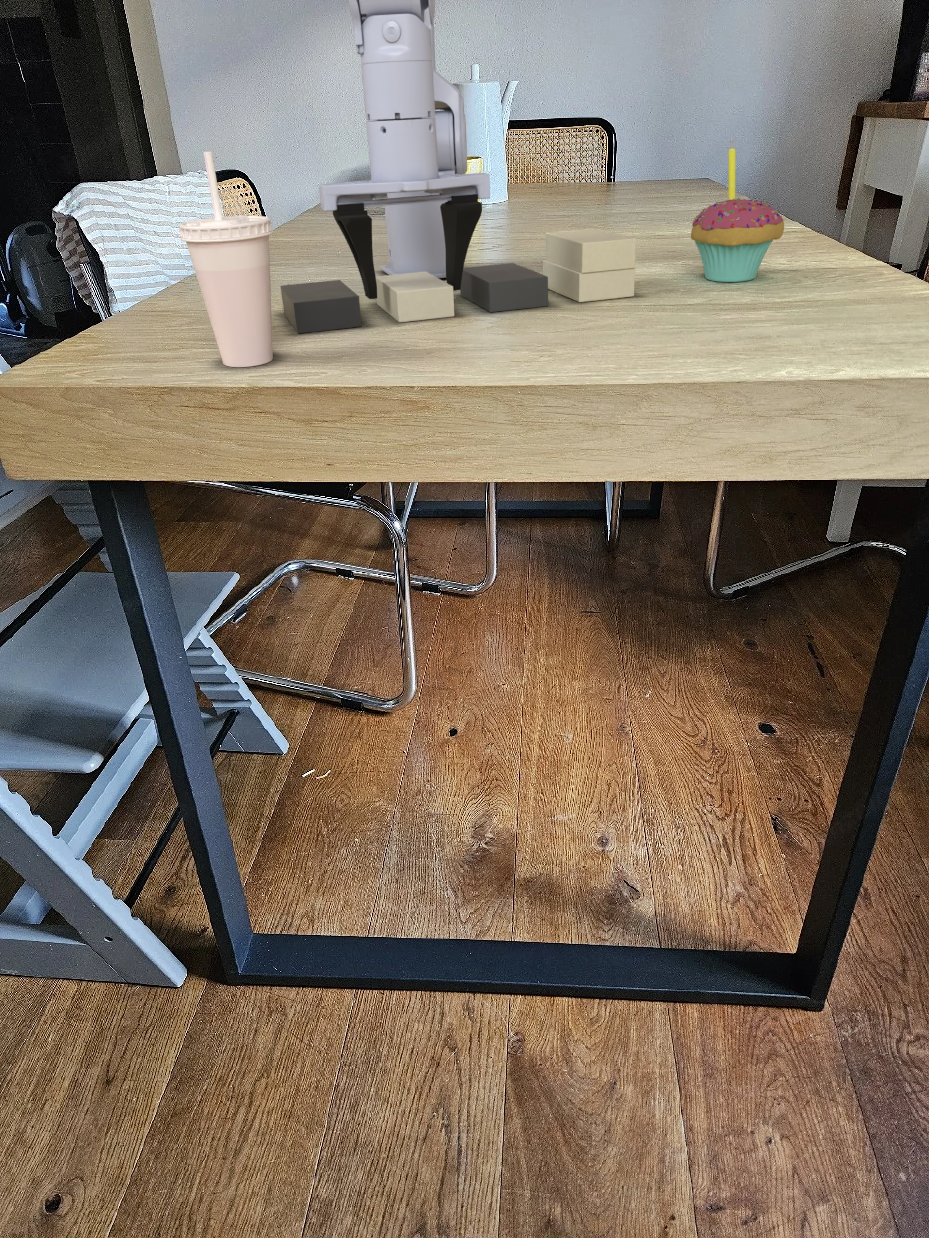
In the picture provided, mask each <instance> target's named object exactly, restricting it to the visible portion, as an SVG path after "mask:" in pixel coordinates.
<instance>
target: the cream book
mask: <svg viewBox="0 0 929 1238" xmlns="http://www.w3.org/2000/svg"><path fill="white" fill-rule="evenodd" d="M375 277H376V283H377V299H376V304H377V306H378V307H380V308H381V309H382V310H384V312H385V313H387V314H388V315H389V316H391V317H392V318H393V319H394V320H396V321H397V322H398V323H406V322H417V321H425V320H434V319H435V320H436V319H444V318H453V317H455V300H454V299H455V297H454V296H455V295H454V291H453V286H451V285H449V284H448V283H447V281H444V280H442V279H441V278H437V277H435V276H433V275H431V274H430V273H428V272H416V273H406V274H396V275H388V274H386V275H375Z"/></svg>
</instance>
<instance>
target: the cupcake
mask: <svg viewBox="0 0 929 1238" xmlns="http://www.w3.org/2000/svg"><path fill="white" fill-rule="evenodd" d="M729 142H730V143H729V144H730V145H729V146H730V148H729V149H728V153H727V157H728V159H727V161H728V164H727V167H728V168H727V169H728V170H727V171H728V172H727V178H728V180H727V182H728V183H727V185H728V186H727V187H728V189H727V199H725V200H723V201H716V202H715V203H713V204H712V205H711V204H710V205H709V206H707V207H706V208H705V207H704V208H703V209H702V211H700V212H699V213H698V215H696V216H695V217H694V220H692V224H691V226H692V228H691V232H690V239H691V240H692V241H694V243H695V245H696V247H697V250H698V252H699V255H700V259H701V263H702V267H703V272H704V277H705V279H706V280H709V281H712V282H721V283H740V282H747V281H751V280H754V279H755V278H756V277H757V274H758V271H759V269H760V266H761V264H762V261H763V259H764V257H765V255H766V253H767V251H768V250H769V248H770V246H771V244H772V243H773V241H774V240H776V241H777V240H780V239H781V238H782V236H783V235H784V230H785V222H784V218H783V216H782V215H780V213H779V211H777V210H776V209H774V208H773V207H772V206H771V205H770V204H767V203H766V202H763V201H757V200H755V199H753V198H751V199H746V198H742V199H741V198H736V171H737V170H736V168H737V167H736V165H737V163H736V159H737V157H736V155H737V154H736V153H737V151H736V149H737V148H734V145H733V143H734V142H733V139H732V138H731V139H729Z"/></svg>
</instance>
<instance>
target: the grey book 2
mask: <svg viewBox="0 0 929 1238" xmlns="http://www.w3.org/2000/svg"><path fill="white" fill-rule="evenodd" d="M459 291H460V296H461V297H462V298H464V299H466V300H467V301H470V302H471V303H473V304H475V305H476V306H478V307H480V308H481V309H484V310H485V311H487V312H488V313H497V312H506V311H514V310H524V309H532V308H542V307H548V306H549V289H548V277H547V276H545V275H543V273H540V272H537V271H534V270H532V269H529V268H527V267H524V266H522V265H520V264H517V263H515V262H508V263H497V264H489V265H478V266H469V267H465V268H463V273H462V280H461V290H459Z"/></svg>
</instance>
